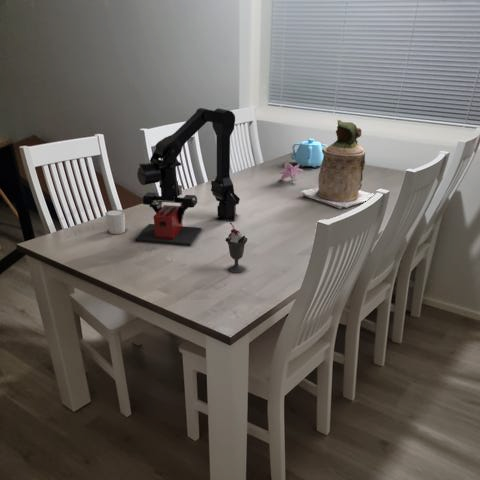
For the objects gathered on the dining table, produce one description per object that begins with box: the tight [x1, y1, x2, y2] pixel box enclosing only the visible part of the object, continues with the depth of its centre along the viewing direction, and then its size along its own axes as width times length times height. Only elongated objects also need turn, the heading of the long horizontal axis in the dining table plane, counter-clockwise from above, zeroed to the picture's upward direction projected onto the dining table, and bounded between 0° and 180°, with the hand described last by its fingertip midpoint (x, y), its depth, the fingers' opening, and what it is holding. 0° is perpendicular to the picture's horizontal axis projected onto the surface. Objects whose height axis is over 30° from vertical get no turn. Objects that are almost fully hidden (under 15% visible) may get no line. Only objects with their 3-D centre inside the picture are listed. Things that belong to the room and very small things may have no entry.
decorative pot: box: [290, 138, 328, 168], centre depth 255 cm, size 16×16×14 cm
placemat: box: [134, 223, 202, 247], centre depth 172 cm, size 20×15×1 cm
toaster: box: [153, 204, 184, 239], centre depth 170 cm, size 13×6×8 cm, turn 170°
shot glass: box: [105, 209, 126, 235], centre depth 174 cm, size 7×7×7 cm
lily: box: [277, 162, 305, 185], centre depth 229 cm, size 12×12×10 cm
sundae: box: [225, 222, 248, 274], centre depth 145 cm, size 7×7×15 cm
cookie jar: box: [300, 119, 375, 210], centre depth 203 cm, size 25×25×32 cm
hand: (171, 222), depth 174 cm, fingers closed on toaster, 6 cm apart
